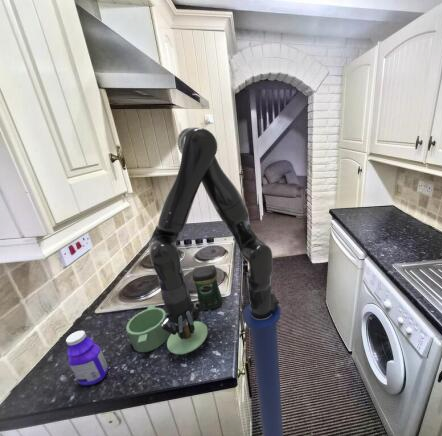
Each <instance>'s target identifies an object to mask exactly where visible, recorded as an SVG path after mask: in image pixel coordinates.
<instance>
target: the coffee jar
mask: <svg viewBox="0 0 442 436" xmlns="http://www.w3.org/2000/svg"><path fill="white" fill-rule="evenodd" d="M217 278H218V270H217V267H216V266H215V265H214V264H209V265H204V266H197V267H194V268H193V271H192V282H193V284H194V285H195V288H196V295H197V301H198V302H200V303H201V304H202V306H201V310H200V311H210V310H214V309H217V308H220V306H221V305H222V303H223V298H222V297H223V296H222V293H221V291H220V287H219V283H218V280H217Z"/></svg>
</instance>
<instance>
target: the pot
mask: <svg viewBox="0 0 442 436" xmlns="http://www.w3.org/2000/svg"><path fill="white" fill-rule="evenodd" d="M166 319H167V312H166V311H165V310H164V309H163V308H162V307H156V304H151V305H148V306H147V309H144V310H142V311H140V312H138V313H136V314H135V315H134V316H132V317H131V318H130V320H129V321H128V322H127V323H126V327H125V329H126V332H127V335H128V337H129V340H130V343H131V345H132V348H133V350H135V351H136V352H137V353H148V352H151V351H154V350H156V349H157V348H159V347H161V346H162V345H164V344H165V342H167V341H168V338H169V336H170V335H171V333H169V332H167V331H165V330H164V329H163V328H162V327H161V326H160V323H161V322H164V321H165V320H166Z"/></svg>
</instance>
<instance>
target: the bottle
mask: <svg viewBox="0 0 442 436" xmlns="http://www.w3.org/2000/svg"><path fill="white" fill-rule="evenodd" d="M65 342H66V345H67V347H68V349H67V356H69V357H68V360H67V362H68V365H69V367H70V369H71V371H72V373H73V375H74V376H75V378H76V381H77V382H78V384H79V385H82V386H91V385H95V384H98V383H99V382H102V381H103V380H104V379H105V377H106V376H107V374H108V372H109V365H108V362H107V361H106V358H105V356H104V353H103V351H102V349H101V347H100V345H98V344H97V343H94V339H92V338H91V337H88V335H87V334H86V331H85V330H77V331H74V332H73V333H70V334H69V335H68V336H67V337H66V339H65Z"/></svg>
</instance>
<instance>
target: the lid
mask: <svg viewBox="0 0 442 436" xmlns="http://www.w3.org/2000/svg"><path fill="white" fill-rule="evenodd" d="M182 328H183V331H184V334H185V339H184V340H183V339H180V337H179V336H178V333H176V334H175V335H173V334H171V333H170V335H169V337H168V339H167V340H166V347H167V350H168V352H170V353H171V354H173V355H179V356H181V355H185V354H186V355H187V354H189V353H192V352H194V351H195V350H197V349H198V348H199V347H200V346H202V345H203V343H204V342H205V341H206V339H207V337H208V334H209V333H208V332H209V329H208V326H207V325H206V323H204V322H202V321H198V320H195V321H194V328H195V330H194V333H191V331H190V327H189V323H188V322H187V321H183V326H182Z"/></svg>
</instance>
